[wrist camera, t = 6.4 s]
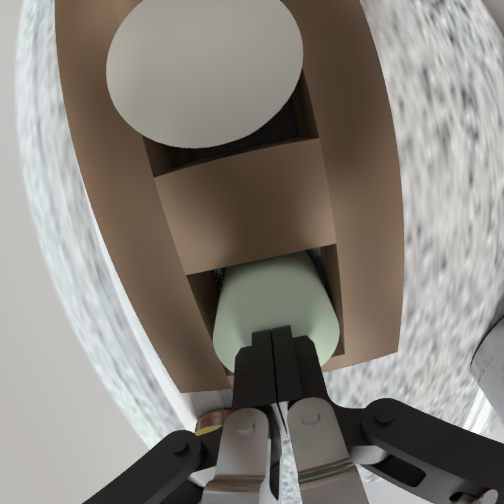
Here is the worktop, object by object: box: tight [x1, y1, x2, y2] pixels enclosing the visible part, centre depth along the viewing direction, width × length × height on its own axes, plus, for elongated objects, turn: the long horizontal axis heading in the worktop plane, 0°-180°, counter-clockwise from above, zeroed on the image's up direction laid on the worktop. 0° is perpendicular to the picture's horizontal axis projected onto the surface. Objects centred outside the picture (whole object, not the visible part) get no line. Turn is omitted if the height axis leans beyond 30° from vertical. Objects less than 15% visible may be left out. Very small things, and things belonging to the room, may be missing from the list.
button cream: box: [106, 0, 303, 148], centre depth 8 cm, size 5×5×5 cm
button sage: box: [213, 250, 340, 373], centre depth 13 cm, size 5×5×5 cm
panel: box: [55, 0, 404, 393], centre depth 10 cm, size 12×28×4 cm, turn 13°
